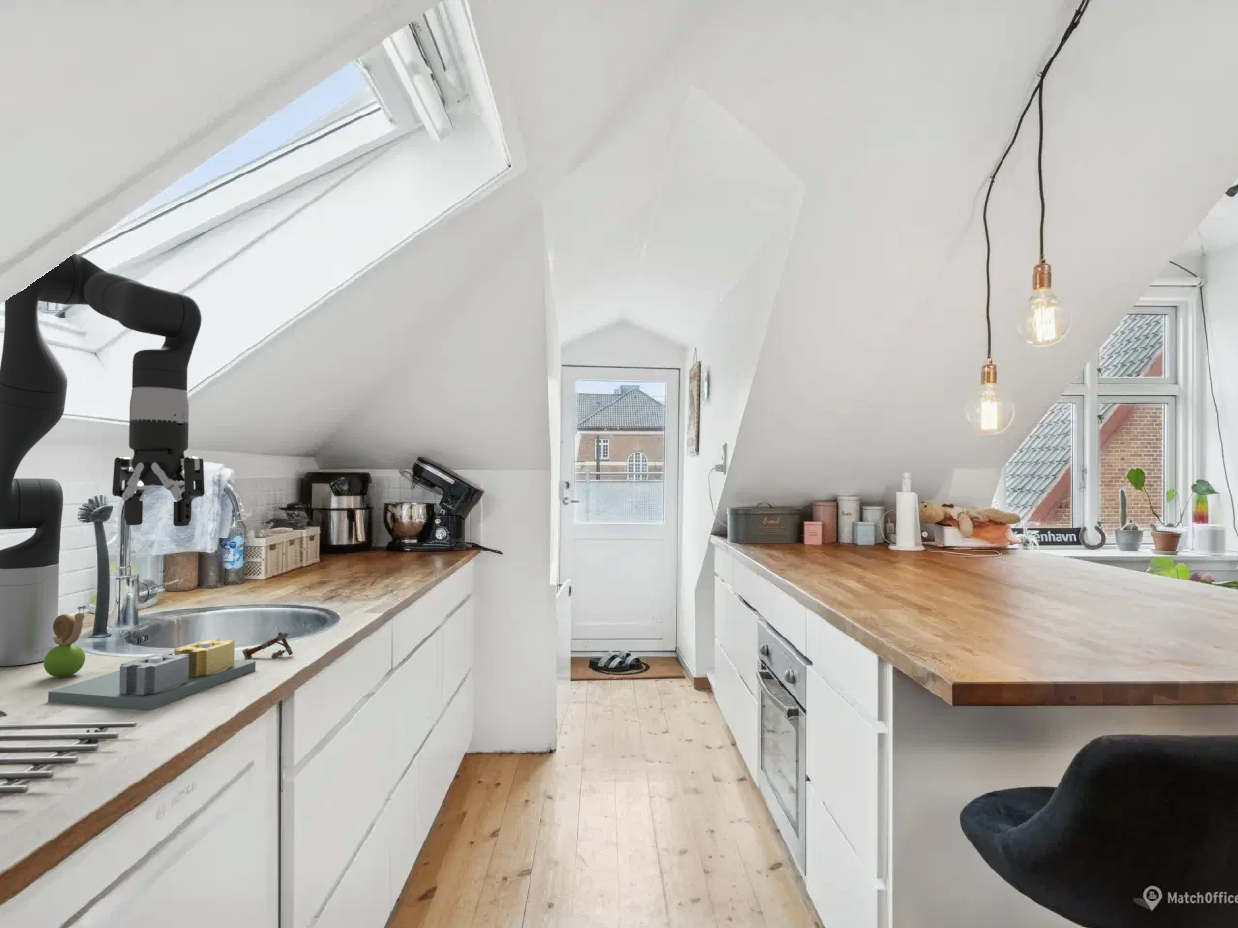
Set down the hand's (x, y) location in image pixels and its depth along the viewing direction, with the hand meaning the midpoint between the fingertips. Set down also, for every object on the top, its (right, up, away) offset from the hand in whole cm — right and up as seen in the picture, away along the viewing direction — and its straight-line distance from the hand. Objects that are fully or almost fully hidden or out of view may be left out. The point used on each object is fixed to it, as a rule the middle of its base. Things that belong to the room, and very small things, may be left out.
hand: (157, 525), depth 104 cm
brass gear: (+2, -25, +9) cm, 26 cm away
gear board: (-4, -26, +6) cm, 27 cm away
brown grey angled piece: (+5, -27, +24) cm, 36 cm away
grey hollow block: (0, -24, -1) cm, 24 cm away
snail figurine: (-22, -27, +10) cm, 36 cm away
